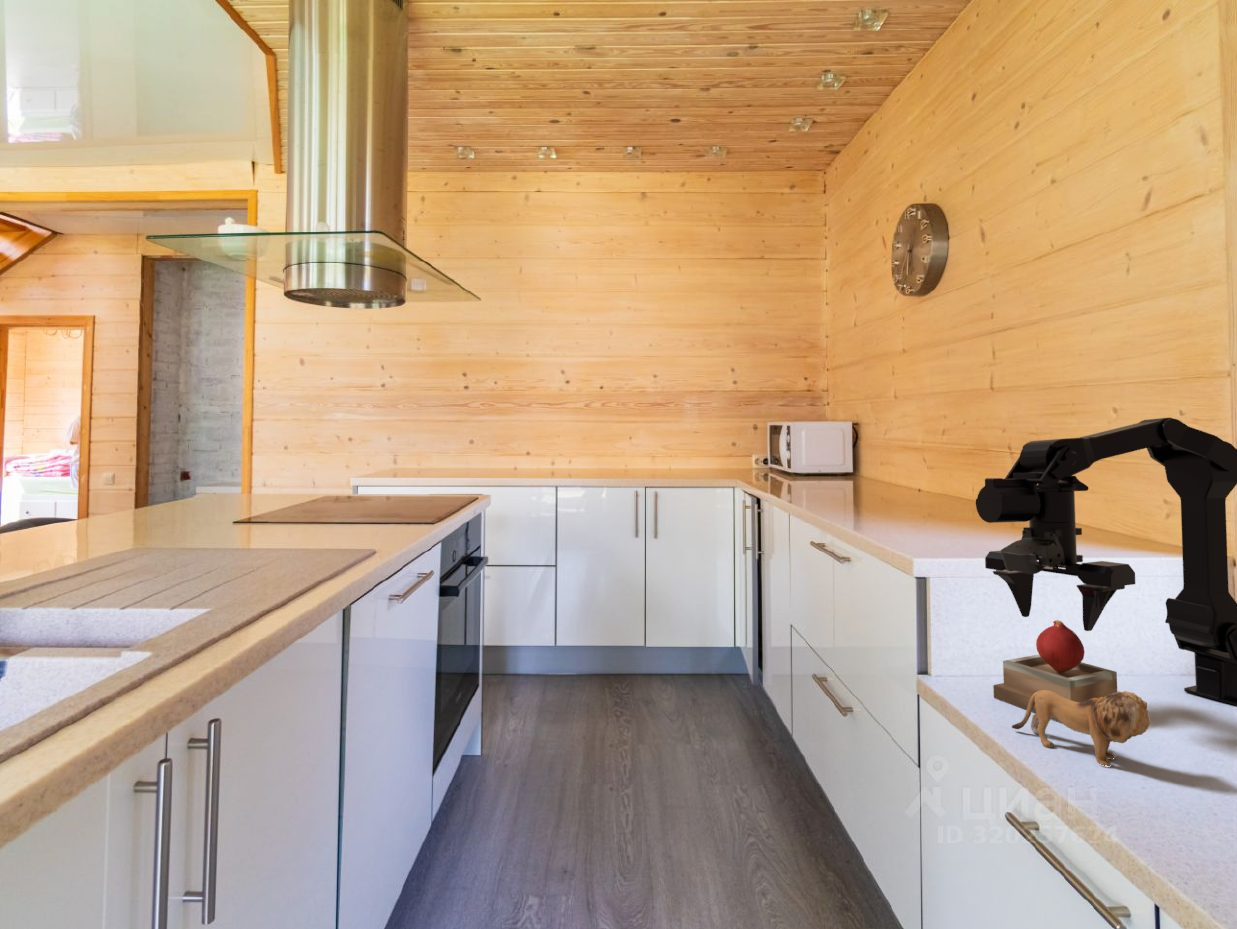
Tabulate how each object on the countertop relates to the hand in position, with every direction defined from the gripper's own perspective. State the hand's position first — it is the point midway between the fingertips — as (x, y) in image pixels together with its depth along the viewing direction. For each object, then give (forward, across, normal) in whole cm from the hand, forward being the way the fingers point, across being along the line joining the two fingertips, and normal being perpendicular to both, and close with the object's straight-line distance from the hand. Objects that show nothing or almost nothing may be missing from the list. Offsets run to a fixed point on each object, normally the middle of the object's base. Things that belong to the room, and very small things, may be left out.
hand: (1055, 623), depth 89 cm
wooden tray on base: (+12, 0, 0) cm, 13 cm away
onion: (+8, 0, 0) cm, 8 cm away
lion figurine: (+13, +11, -12) cm, 21 cm away
